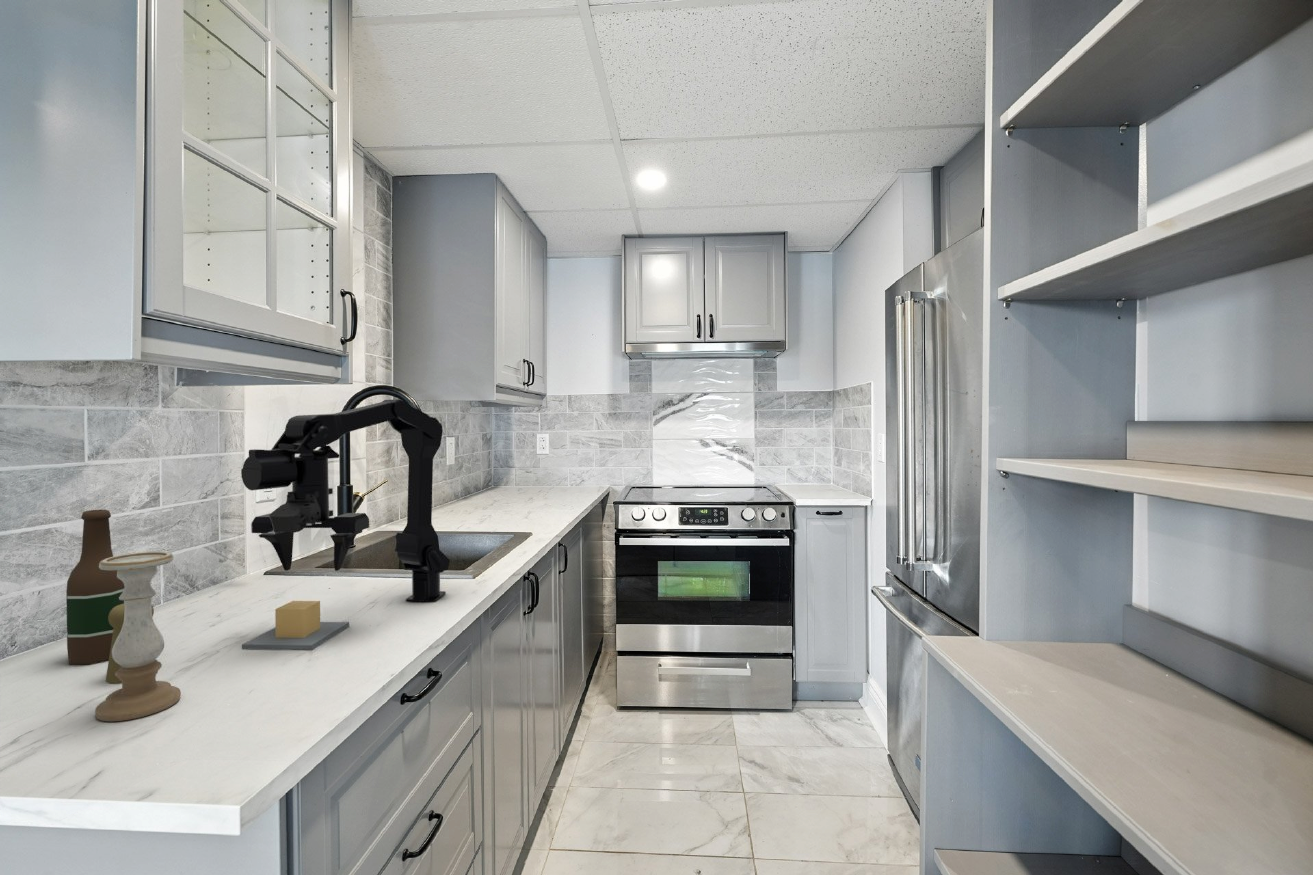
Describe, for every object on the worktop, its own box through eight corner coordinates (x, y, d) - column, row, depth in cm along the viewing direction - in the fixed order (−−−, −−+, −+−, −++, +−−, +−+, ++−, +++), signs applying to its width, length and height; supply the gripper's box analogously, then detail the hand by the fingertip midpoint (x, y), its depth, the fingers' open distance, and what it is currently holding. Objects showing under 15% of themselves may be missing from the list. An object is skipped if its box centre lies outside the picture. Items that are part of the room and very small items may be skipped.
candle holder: (196, 697, 84) (194, 552, 84) (123, 727, 76) (120, 566, 76) (153, 688, 87) (151, 548, 87) (78, 716, 79) (76, 561, 79)
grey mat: (286, 625, 115) (286, 621, 115) (349, 626, 115) (349, 621, 115) (241, 648, 103) (241, 644, 103) (311, 649, 103) (311, 645, 103)
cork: (97, 678, 91) (96, 605, 90) (146, 664, 96) (145, 595, 96) (116, 686, 88) (115, 611, 88) (166, 671, 93) (165, 600, 93)
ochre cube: (293, 627, 111) (293, 600, 111) (320, 628, 111) (320, 600, 111) (275, 637, 106) (275, 608, 106) (303, 637, 106) (303, 609, 106)
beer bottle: (78, 651, 101) (76, 508, 101) (137, 645, 104) (135, 506, 104) (54, 669, 94) (52, 515, 94) (118, 661, 97) (116, 512, 97)
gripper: (227, 489, 102) (229, 582, 102) (336, 489, 101) (338, 582, 102) (271, 482, 113) (273, 565, 113) (370, 482, 112) (371, 566, 113)
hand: (312, 570), depth 110 cm, fingers open, 9 cm apart
